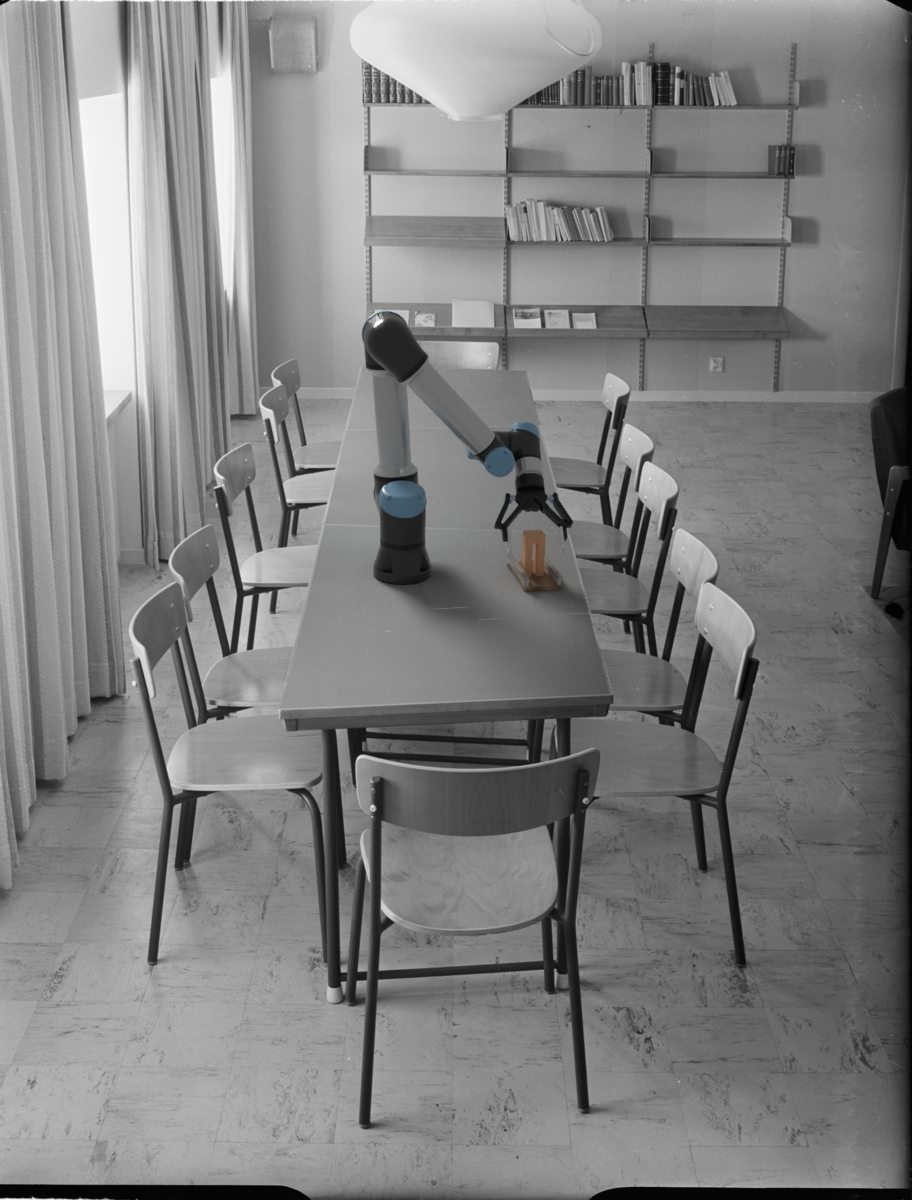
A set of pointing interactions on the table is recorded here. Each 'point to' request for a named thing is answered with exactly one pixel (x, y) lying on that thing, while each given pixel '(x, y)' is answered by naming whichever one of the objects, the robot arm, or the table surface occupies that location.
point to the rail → (535, 583)
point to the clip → (539, 552)
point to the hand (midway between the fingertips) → (536, 552)
